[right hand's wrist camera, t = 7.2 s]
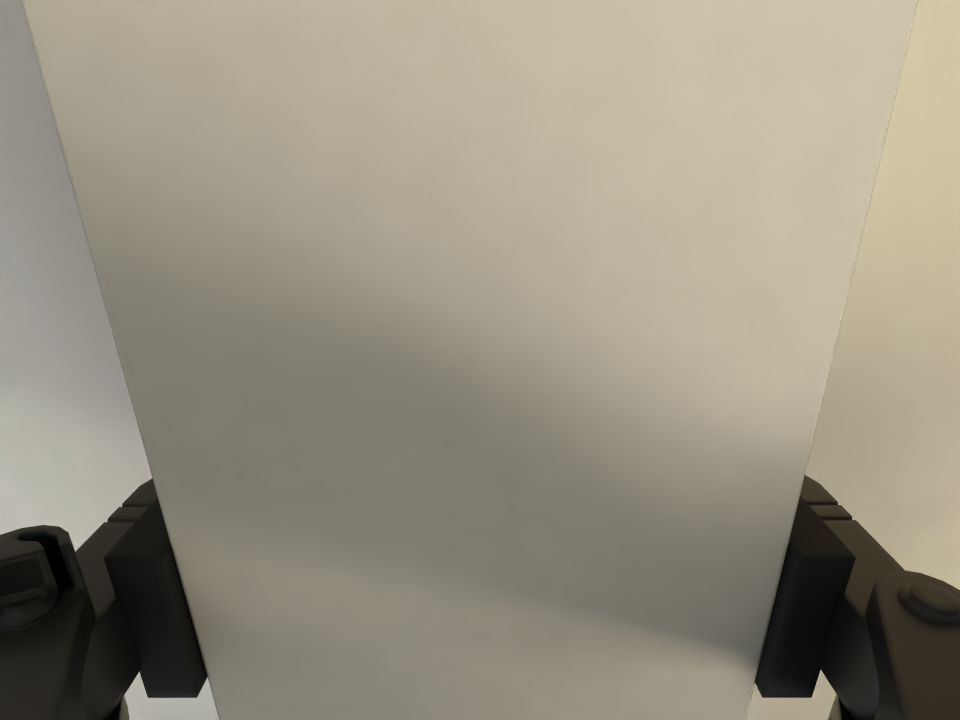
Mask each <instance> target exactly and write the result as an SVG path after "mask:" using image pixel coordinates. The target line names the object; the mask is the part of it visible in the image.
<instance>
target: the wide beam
mask: <svg viewBox="0 0 960 720" xmlns="http://www.w3.org/2000/svg"><path fill="white" fill-rule="evenodd" d="M918 1H919V0H21V3H22V7H23V10H24V14H25V18H26V21H27V25H28V28H29V32H30V36H31V39H32V43H33V46H34V50H35V54H36V57H37V61H38V65H39V68H40V72H41V75H42V79H43V83H44V86H45V90H46V94H47V97H48V101H49V104H50V108H51V112H52V115H53V119H54V123H55V126H56V130H57V133H58V137H59V141H60V144H61V148H62V151H63V155H64V159H65V162H66V166H67V170H68V173H69V177H70V180H71V184H72V188H73V191H74V195H75V199H76V202H77V206H78V209H79V213H80V217H81V220H82V224H83V227H84V231H85V235H86V238H87V242H88V246H89V249H90V253H91V256H92V260H93V264H94V267H95V271H96V275H97V278H98V282H99V285H100V289H101V293H102V296H103V300H104V303H105V307H106V311H107V314H108V318H109V322H110V325H111V329H112V332H113V336H114V340H115V343H116V347H117V351H118V354H119V358H120V361H121V365H122V369H123V372H124V376H125V379H126V383H127V387H128V390H129V394H130V398H131V401H132V405H133V408H134V412H135V416H136V419H137V423H138V427H139V430H140V434H141V437H142V441H143V445H144V448H145V452H146V455H147V459H148V463H149V466H150V470H151V474H152V477H153V481H154V484H155V488H156V492H157V495H158V499H159V503H160V506H161V510H162V513H163V517H164V521H165V524H166V528H167V531H168V535H169V539H170V542H171V546H172V550H173V553H174V557H175V560H176V564H177V568H178V571H179V575H180V579H181V582H182V586H183V589H184V593H185V597H186V600H187V604H188V608H189V611H190V615H191V618H192V622H193V626H194V629H195V633H196V636H197V640H198V644H199V647H200V651H201V655H202V658H203V662H204V665H205V669H206V673H207V676H208V680H209V684H210V687H211V691H212V694H213V698H214V702H215V705H216V709H217V712H218V716H219V720H746V718H747V713H748V709H749V705H750V701H751V697H752V692H753V688H754V684H755V680H756V676H757V672H758V667H759V663H760V659H761V655H762V651H763V647H764V642H765V638H766V634H767V630H768V626H769V622H770V617H771V613H772V609H773V605H774V601H775V597H776V592H777V588H778V584H779V580H780V576H781V572H782V567H783V563H784V559H785V555H786V551H787V547H788V542H789V538H790V534H791V530H792V526H793V522H794V517H795V513H796V509H797V505H798V501H799V497H800V492H801V488H802V484H803V480H804V476H805V472H806V467H807V463H808V459H809V455H810V451H811V447H812V442H813V438H814V434H815V430H816V426H817V422H818V417H819V413H820V409H821V405H822V401H823V397H824V392H825V388H826V384H827V380H828V376H829V372H830V367H831V363H832V359H833V355H834V351H835V347H836V342H837V338H838V334H839V330H840V326H841V322H842V317H843V313H844V309H845V305H846V301H847V297H848V292H849V288H850V284H851V280H852V276H853V272H854V267H855V263H856V259H857V255H858V251H859V246H860V242H861V238H862V234H863V230H864V226H865V221H866V217H867V213H868V209H869V205H870V201H871V196H872V192H873V188H874V184H875V180H876V176H877V171H878V167H879V163H880V159H881V155H882V151H883V146H884V142H885V138H886V134H887V130H888V126H889V121H890V117H891V113H892V109H893V105H894V101H895V96H896V92H897V88H898V84H899V80H900V76H901V71H902V67H903V63H904V59H905V55H906V51H907V46H908V42H909V38H910V34H911V30H912V26H913V21H914V17H915V13H916V9H917V5H918Z"/></svg>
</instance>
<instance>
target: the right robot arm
mask: <svg viewBox="0 0 960 720" xmlns="http://www.w3.org/2000/svg"><path fill="white" fill-rule="evenodd" d="M820 669H821V670H822V672H823V673H824V675H825V677H826V678H827V680H828V681H829V683H830V684H831V686H832V688H833V689H834V691H835V692H836V697H835V700H834V703H833V706H832V709H831V712H830V715H829V718H828V720H960V590H958V589H957V588H955V587H953V586H951V585H949V584H947V583H946V582H944V581H941V580H939V579H936V578H933V577H930V576H927V575H925V574H922V573H917V572H910V571H905V570H904V569H903V568H902V567H901V566H900V565H899V564H898V563H897V562H896V561H895V560H894V559H893V558H892V557H891V556H890V555H889V554H888V553H887V552H886V551H885V550H884V549H883V548H882V547H881V545H880V544H879V543H878V542H877V541H876V540H875V539H874V538H873V537H872V536H871V535H870V534H869V533H868V532H867V531H866V530H865V529H864V528H863V527H862V526H861V525H860V524H859V523H858V522H857V521H856V520H852V516H851V515H850V514H849V513H848V512H847V511H846V510H845V509H844V508H843V507H842V506H841V505H838V502H837V501H836V500H835V499H834V498H833V497H832V496H831V495H830V494H829V493H828V492H827V491H826V490H825V489H824V487H823V486H822V485H821V484H819V483H817V482H816V481H814V480H812V479H811V478H809V477H807V476H806V475H805V476H804V480H803V484H802V488H801V492H800V497H799V501H798V505H797V509H796V513H795V517H794V522H793V526H792V530H791V534H790V538H789V542H788V547H787V551H786V555H785V559H784V563H783V567H782V572H781V576H780V580H779V584H778V588H777V592H776V597H775V601H774V605H773V609H772V613H771V617H770V622H769V626H768V630H767V634H766V638H765V642H764V647H763V651H762V655H761V659H760V663H759V667H758V672H757V676H756V680H755V683H756V685H757V687H758V689H759V691H760V693H761V695H762V697H763V698H812V695H813V691H814V688H815V685H816V682H817V679H818V676H819V672H820ZM139 671H140V674H141V677H142V680H143V684H144V687H145V690H146V693H147V696H148V698H197V696H198V694H199V692H200V690H201V689H202V687H203V685H204V683H205V681H206V679H207V677H208V676H207V673H206V669H205V665H204V662H203V658H202V655H201V651H200V647H199V644H198V640H197V636H196V633H195V629H194V626H193V622H192V618H191V615H190V611H189V608H188V604H187V600H186V597H185V593H184V589H183V586H182V582H181V579H180V575H179V571H178V568H177V564H176V560H175V557H174V553H173V550H172V546H171V542H170V539H169V535H168V531H167V528H166V524H165V521H164V517H163V513H162V510H161V506H160V503H159V499H158V495H157V492H156V488H155V484H154V481H153V478H152V479H151V480H149V481H147V482H146V483H144V484H142V485H141V486H139V487H138V488H137V489H136V490H135V491H134V493H133V494H132V495H131V496H130V497H129V498H128V499H127V500H126V501H125V502H124V503H123V504H122V507H119V508H118V509H117V510H116V511H115V512H114V513H113V514H112V515H111V516H110V517H109V518H108V522H107V523H103V524H102V525H101V526H100V527H99V528H98V529H97V530H96V531H95V532H94V533H93V534H92V536H91V537H90V538H89V539H88V540H87V541H86V542H85V543H84V544H83V545H82V546H81V547H80V548H79V549H78V550H77V551H76V552H75V550H74V547H73V544H72V542H71V539H70V536H69V533H68V532H67V531H65V530H63V529H62V528H60V527H57V526H47V525H41V526H34V527H27V528H21V529H18V530H15V531H11V532H8V533H5V534H2V535H0V720H129V713H128V707H127V703H126V700H125V697H124V695H125V693H126V691H127V690H128V688H129V687H130V685H131V684H132V682H133V680H134V679H135V677H136V676H137V674H138V673H139Z"/></svg>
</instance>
